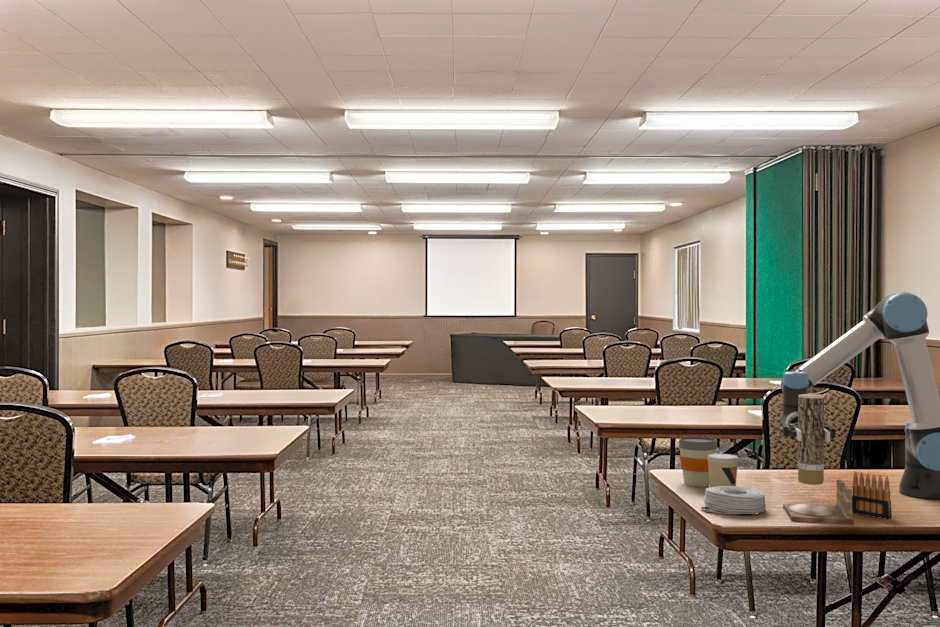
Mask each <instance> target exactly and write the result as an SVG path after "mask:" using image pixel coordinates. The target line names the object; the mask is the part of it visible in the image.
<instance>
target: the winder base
mask: <svg viewBox="0 0 940 627" xmlns="http://www.w3.org/2000/svg"><path fill="white" fill-rule="evenodd" d="M852 495H853V488H851V487H850V486H849V485H846V483H845V482H844V481H843V480H842V479H836V505H823V504H821V505H818V504H809V503H783V504H782V508H783V510H784V509H785V510H784V511H785V513H786V515H787V516H788V517H790V518H789V519H790V521H791V520H792V521H791V522H801V521H811V522H810V523H821V522H825V523H824V524H840V523H849V524H848V525H854V524H855V519H854V518H853V513H852Z"/></svg>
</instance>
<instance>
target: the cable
mask: <svg viewBox="0 0 940 627" xmlns="http://www.w3.org/2000/svg"><path fill="white" fill-rule="evenodd" d="M704 493H705V494H704V497H703V500H704V501H703V502H704V506H701V510H703V509H705V510H704V512H705V511H707V512H706V513H708V512H714V513H713V514H719V513H730V514H729V515H737V514H752V515H757V514H756V513H760V512H763V513H764V512H765V510H766V508H767V507H766V497H765V493H764V492H763V491H762V490H760V489H757V488H752V487H748V486H747V487H746V486H739V485H738V486H737V485H736V486H717V487H711V488H710V487H707V488H705V492H704ZM707 508H708V509H707ZM760 514H761V513H760Z"/></svg>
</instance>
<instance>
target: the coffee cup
mask: <svg viewBox="0 0 940 627" xmlns="http://www.w3.org/2000/svg"><path fill="white" fill-rule="evenodd" d="M707 459H708V470H709V485H710V486H709V488H711V487H717V486H737V477H738V476H737V475H738V461H739V459H738V456H737V455H734V454H729V453H716V454H710V455H708V458H707Z"/></svg>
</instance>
